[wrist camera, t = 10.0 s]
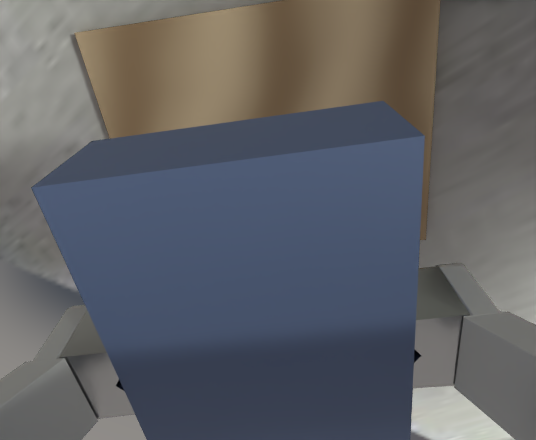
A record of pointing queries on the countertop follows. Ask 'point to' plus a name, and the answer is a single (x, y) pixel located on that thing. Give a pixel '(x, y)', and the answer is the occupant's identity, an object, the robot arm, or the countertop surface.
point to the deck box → (252, 271)
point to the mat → (267, 65)
